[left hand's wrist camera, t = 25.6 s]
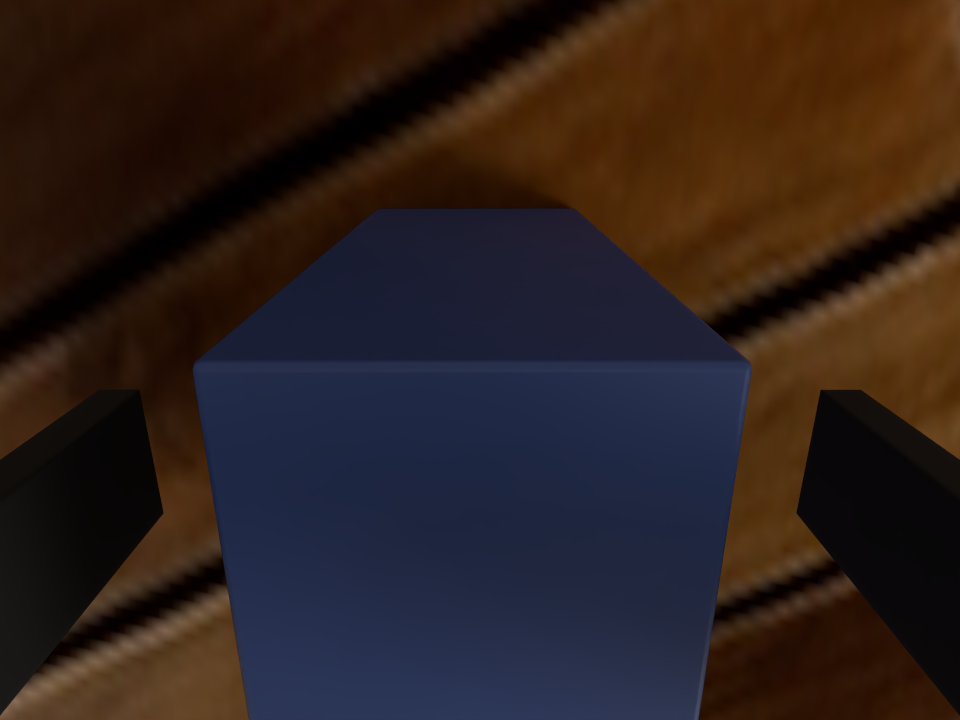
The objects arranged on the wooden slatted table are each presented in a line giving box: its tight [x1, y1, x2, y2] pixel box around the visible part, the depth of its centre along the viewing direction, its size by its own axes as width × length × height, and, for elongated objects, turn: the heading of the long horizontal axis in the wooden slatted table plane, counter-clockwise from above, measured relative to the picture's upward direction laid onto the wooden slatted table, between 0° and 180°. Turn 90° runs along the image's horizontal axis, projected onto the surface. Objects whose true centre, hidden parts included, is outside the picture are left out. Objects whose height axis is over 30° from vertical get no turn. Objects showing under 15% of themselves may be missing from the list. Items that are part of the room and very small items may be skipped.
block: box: [193, 209, 751, 720], centre depth 12 cm, size 8×5×11 cm, turn 0°
